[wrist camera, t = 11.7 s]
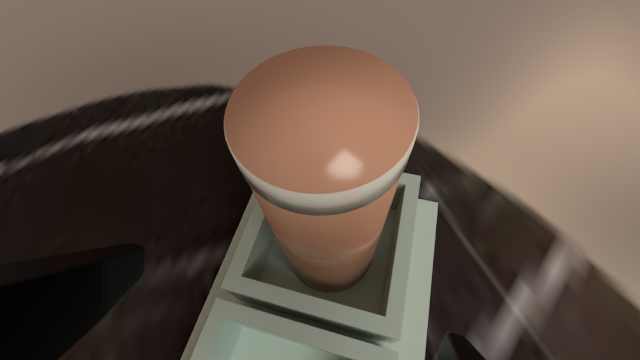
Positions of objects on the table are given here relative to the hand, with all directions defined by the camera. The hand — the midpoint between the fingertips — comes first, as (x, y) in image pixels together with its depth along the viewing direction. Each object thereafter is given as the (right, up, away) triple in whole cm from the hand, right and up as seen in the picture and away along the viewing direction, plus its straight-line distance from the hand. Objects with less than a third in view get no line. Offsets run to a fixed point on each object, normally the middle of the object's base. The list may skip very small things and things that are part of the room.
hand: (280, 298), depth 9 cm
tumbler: (+2, -1, +11) cm, 11 cm away
